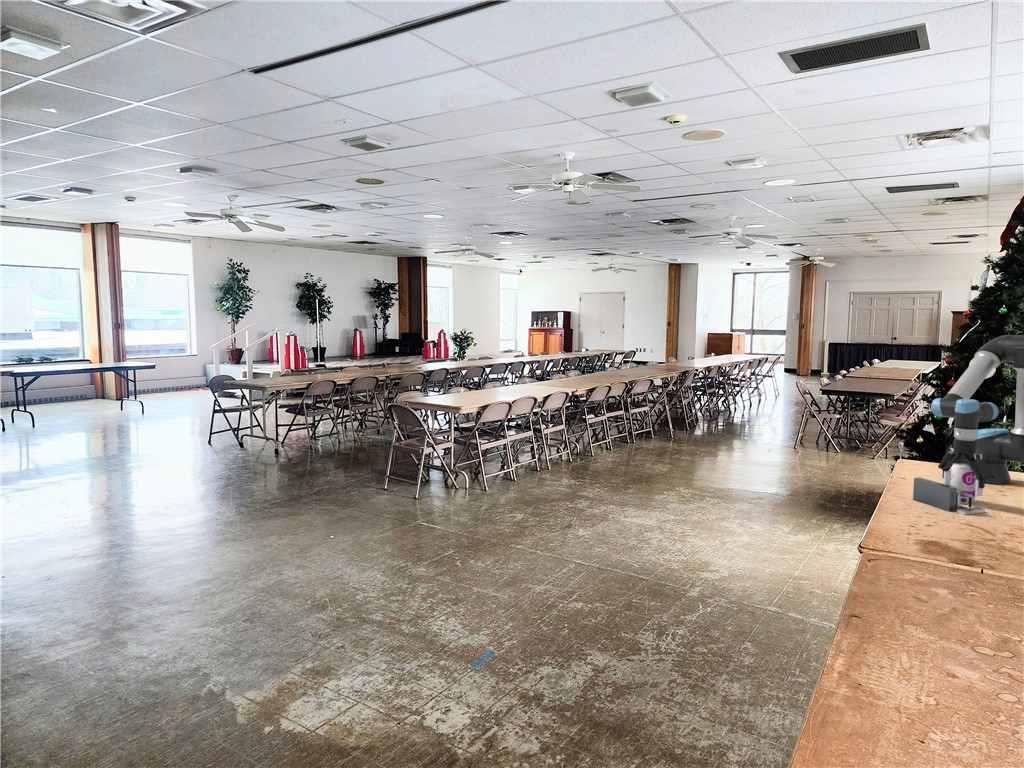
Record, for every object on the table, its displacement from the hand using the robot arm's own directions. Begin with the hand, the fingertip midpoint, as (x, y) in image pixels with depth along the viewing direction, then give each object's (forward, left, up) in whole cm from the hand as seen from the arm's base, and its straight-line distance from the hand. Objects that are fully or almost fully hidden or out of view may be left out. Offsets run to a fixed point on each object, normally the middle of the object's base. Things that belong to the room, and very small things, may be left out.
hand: (962, 491), depth 254 cm
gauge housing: (+10, +3, -4) cm, 11 cm away
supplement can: (0, 0, -4) cm, 4 cm away
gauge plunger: (+10, +2, -3) cm, 11 cm away
